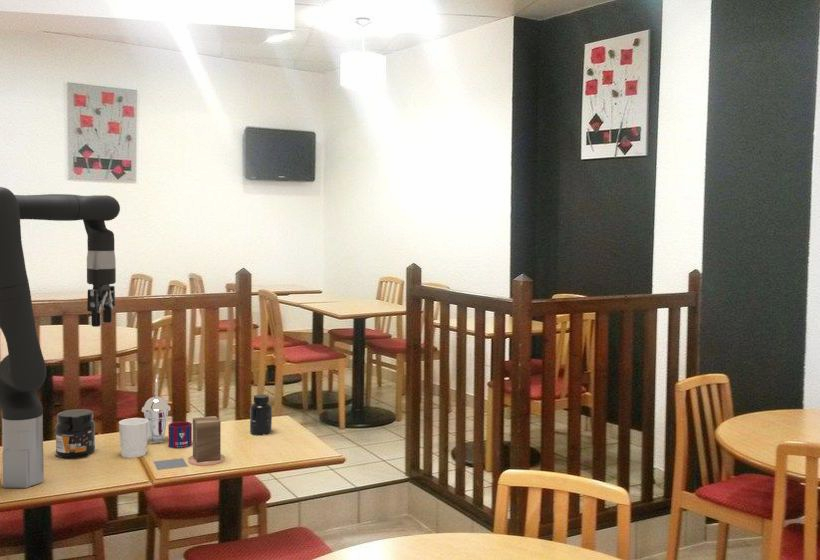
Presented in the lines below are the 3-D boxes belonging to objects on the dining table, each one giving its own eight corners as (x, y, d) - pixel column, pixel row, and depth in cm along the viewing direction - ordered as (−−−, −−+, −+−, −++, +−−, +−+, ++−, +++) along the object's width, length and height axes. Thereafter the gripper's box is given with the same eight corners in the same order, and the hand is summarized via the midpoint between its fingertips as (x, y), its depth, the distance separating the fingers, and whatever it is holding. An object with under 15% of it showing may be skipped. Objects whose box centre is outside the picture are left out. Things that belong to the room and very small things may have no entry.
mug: (170, 450, 228) (170, 428, 227) (165, 441, 237) (165, 420, 236) (193, 448, 231) (193, 425, 230) (188, 439, 240) (188, 418, 239)
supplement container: (51, 460, 217) (50, 418, 216) (60, 449, 227) (59, 409, 227) (91, 458, 219) (91, 416, 218) (98, 447, 230) (98, 408, 229)
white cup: (138, 460, 218) (138, 425, 217) (113, 458, 220) (113, 423, 219) (153, 452, 226) (153, 418, 225) (129, 450, 227) (128, 417, 227)
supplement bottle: (246, 434, 246) (246, 397, 246) (254, 429, 253) (254, 393, 252) (267, 436, 245) (267, 398, 245) (274, 430, 252) (274, 394, 251)
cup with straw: (136, 443, 234) (135, 378, 233) (152, 436, 243) (151, 373, 242) (161, 446, 232) (161, 380, 231) (176, 438, 241) (176, 374, 240)
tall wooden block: (220, 459, 217) (220, 421, 216) (197, 462, 214) (197, 423, 213) (215, 453, 222) (215, 416, 222) (192, 456, 219) (192, 418, 219)
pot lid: (220, 467, 213) (220, 460, 213) (183, 466, 213) (183, 459, 213) (228, 456, 223) (228, 449, 223) (193, 456, 223) (193, 449, 223)
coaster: (187, 467, 212) (187, 466, 212) (157, 471, 209) (157, 469, 209) (182, 459, 220) (182, 458, 220) (153, 462, 216) (153, 461, 216)
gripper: (97, 265, 224) (98, 321, 225) (77, 268, 209) (78, 327, 211) (123, 265, 224) (124, 321, 225) (105, 268, 210) (105, 328, 211)
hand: (101, 324), depth 218 cm, fingers open, 8 cm apart
